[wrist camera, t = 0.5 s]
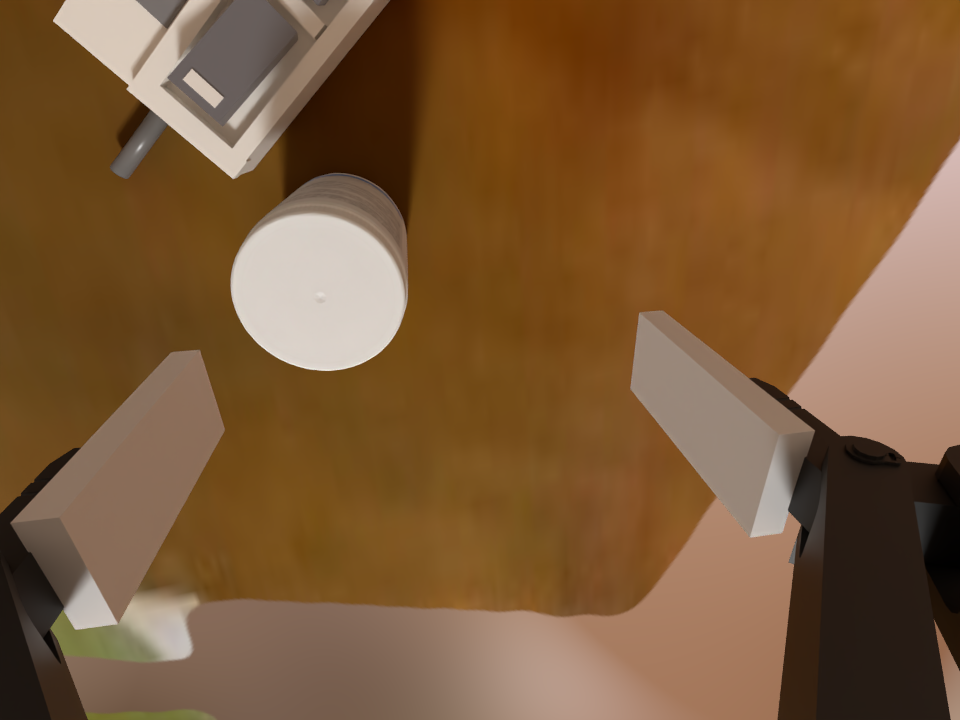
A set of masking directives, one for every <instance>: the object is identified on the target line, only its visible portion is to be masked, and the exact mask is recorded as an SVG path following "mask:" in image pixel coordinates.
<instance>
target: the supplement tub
mask: <svg viewBox="0 0 960 720" xmlns="http://www.w3.org/2000/svg"><path fill="white" fill-rule="evenodd" d="M231 294H232V299H233V303H234V307H235V310H236V312H237V315H238V317H239V319H240V321H241V323H242V324H243V326H244V327H245V329H246V330H247V332H248V333H249V334H250V335H251V337H252V338H253V339H254V340H255V341H256V342H257V343H258V344H259V345H260V346H262V347H263V348H264V349H265V350H267V351H268V352H269V353H271V354H272V355H274V356H276V357H277V358H279V359H281V360H283V361H285V362H287V363H290V364H292V365H295V366H298V367H302V368H306V369H312V370H323V371H330V370H340V369H345V368H349V367H353V366H356V365H359V364H361V363H363V362H365V361H367V360H369V359H371V358H372V357H374V356H375V355H377V354H378V353H379V352H380V351H382V350H383V349H384V348H385V347H386V346H387V345H388V344H389V342H390V341H391V340H392V338H393V337H394V335H395V334H396V332H397V330H398V328H399V326H400V324H401V321H402V318H403V315H404V312H405V309H406V304H407V297H408V266H407V234H406V228H405V224H404V221H403V218H402V215H401V213H400V211H399V209H398V208H397V206H396V204H395V203H394V202H393V200H392V199H391V198H390V197H389V196H388V194H387V193H386V192H385V191H384V190H382V189H381V188H380V187H379V186H377V185H376V184H374V183H373V182H371V181H369V180H367V179H365V178H362V177H359V176H356V175H352V174H346V173H331V174H326V175H322V176H318V177H316V178H313V179H311V180H310V181H308V182H306V183H305V184H304V185H302V186H301V187H300V188H298V189H297V190H296V191H295V192H294V193H292V194H291V195H290V196H289V197H287V198H286V199H285V200H284V201H283V202H281V203H280V204H279V205H278V206H277V207H275V208H274V209H273V210H272V211H270V212H269V213H268V214H267V215H266V216H264V217H263V218H262V219H261V220H260V221H259V222H258V223H257V224H256V225H255V226H254V227H253V229H252V230H251V231H250V233H249V234H248V236H247V237H246V239H245V241H244V242H243V244H242V246H241V248H240V249H239V251H238V253H237V255H236V257H235V260H234V263H233V267H232V273H231Z"/></svg>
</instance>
